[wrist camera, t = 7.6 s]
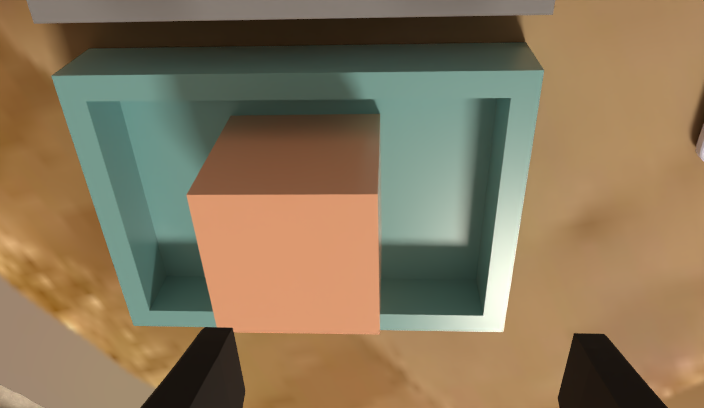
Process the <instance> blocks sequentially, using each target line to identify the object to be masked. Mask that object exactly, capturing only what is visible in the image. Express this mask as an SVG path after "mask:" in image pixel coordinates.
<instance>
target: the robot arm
mask: <svg viewBox="0 0 704 408" xmlns="http://www.w3.org/2000/svg"><path fill="white" fill-rule="evenodd" d="M696 153H697V155H698V156H699V157H700V159H701V160H703V161H704V124H703V127H702V130H701V133H700V136H699V139H698V142H697V145H696ZM244 396H245V386H244V381H243V376H242V371H241V366H240V362H239V357H238V352H237V347H236V342H235V337H234V332H233V328H227V327H205V328H204V329H202V330H201V331H200V333H199V334H198V335H197V337H196V338H195V339H194V341H193V342H192V343H191V345H190V346H189V347H188V349H187V350H186V351H185V353H184V354H183V355H182V357H181V358H180V359H179V361H178V362H177V363H176V365H175V366H174V367H173V368H172V370H171V371H170V372H169V373H168V375H167V376H166V377H165V379H164V380H163V381H162V382H161V383H160V385H159V386H158V387H157V388H156V389H155V391H154V392H153V393H152V395H151V396H150V397H149V398H148V399H147V401H146V402H145V403H144V404H143V405H142V406H141V408H243V402H244ZM558 402H559V407H560V408H668V407H667V406H666V405H665V404H664V403H663V402H662V401H661V400H660V398H659V397H658V396H657V395H656V394H655V393H654V392H653V390H652V389H651V388H650V387H649V386H648V385H647V383H646V382H645V381H644V380H643V379H642V378H641V376H640V375H639V374H638V373H637V372H636V371H635V369H634V368H633V367H632V366H631V365H630V363H629V362H628V361H627V360H626V359H625V357H624V356H623V355H622V354H621V353H620V352H619V350H618V349H617V348H616V347H615V346H614V344H613V343H612V342H611V341H610V340H609V338H608V337H607V336H606V335H605V334H578V333H574V336H573V340H572V344H571V348H570V352H569V356H568V360H567V364H566V368H565V372H564V376H563V380H562V384H561V388H560V392H559V396H558Z"/></svg>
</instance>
